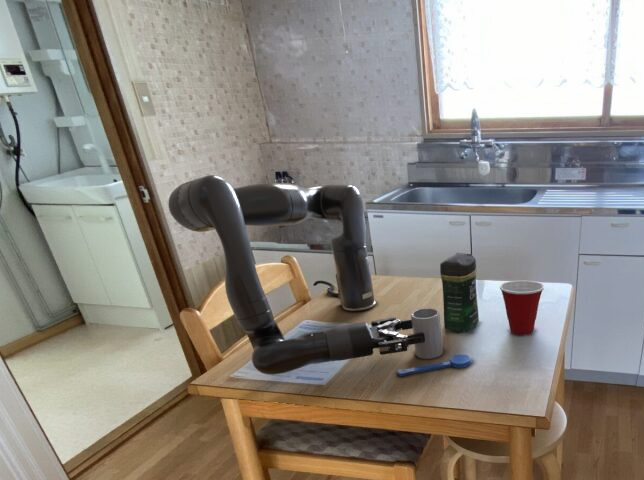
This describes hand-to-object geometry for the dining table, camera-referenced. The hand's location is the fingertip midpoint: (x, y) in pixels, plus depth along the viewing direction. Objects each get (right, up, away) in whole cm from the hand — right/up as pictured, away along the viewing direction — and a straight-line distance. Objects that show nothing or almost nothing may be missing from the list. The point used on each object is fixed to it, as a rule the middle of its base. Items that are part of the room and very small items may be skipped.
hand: (420, 329), depth 118 cm
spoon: (+4, -9, -3) cm, 10 cm away
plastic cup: (+24, +1, +12) cm, 27 cm away
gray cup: (+2, -5, +3) cm, 6 cm away
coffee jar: (+9, +2, +15) cm, 18 cm away
